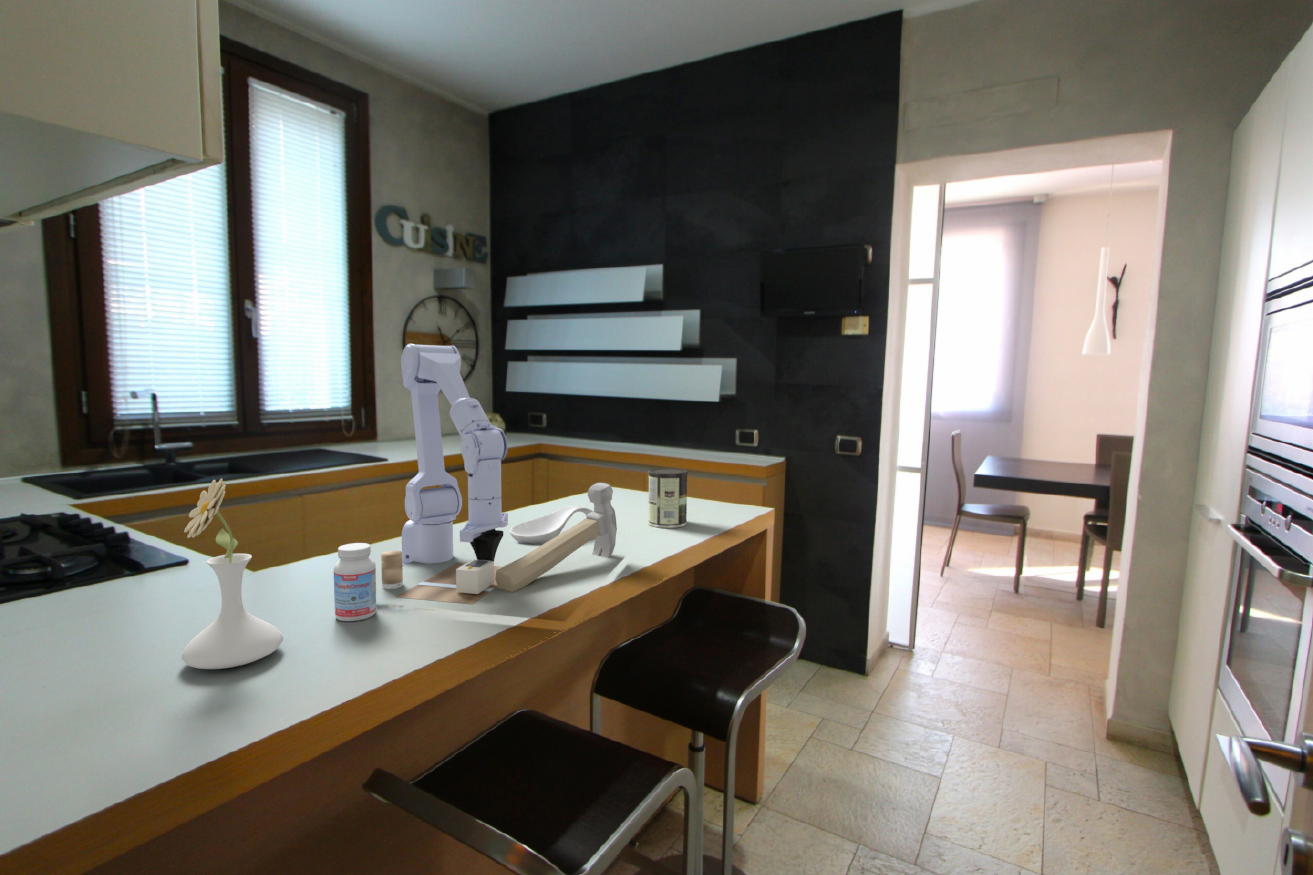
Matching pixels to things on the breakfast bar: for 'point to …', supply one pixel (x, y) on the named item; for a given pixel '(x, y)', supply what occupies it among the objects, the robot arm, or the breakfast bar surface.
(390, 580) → the tan rounded cylinder
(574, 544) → the hammer
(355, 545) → the pill bottle
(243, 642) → the flower in vase
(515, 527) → the spoon rest
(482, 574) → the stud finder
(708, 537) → the breakfast bar surface
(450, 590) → the board
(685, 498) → the coffee can
